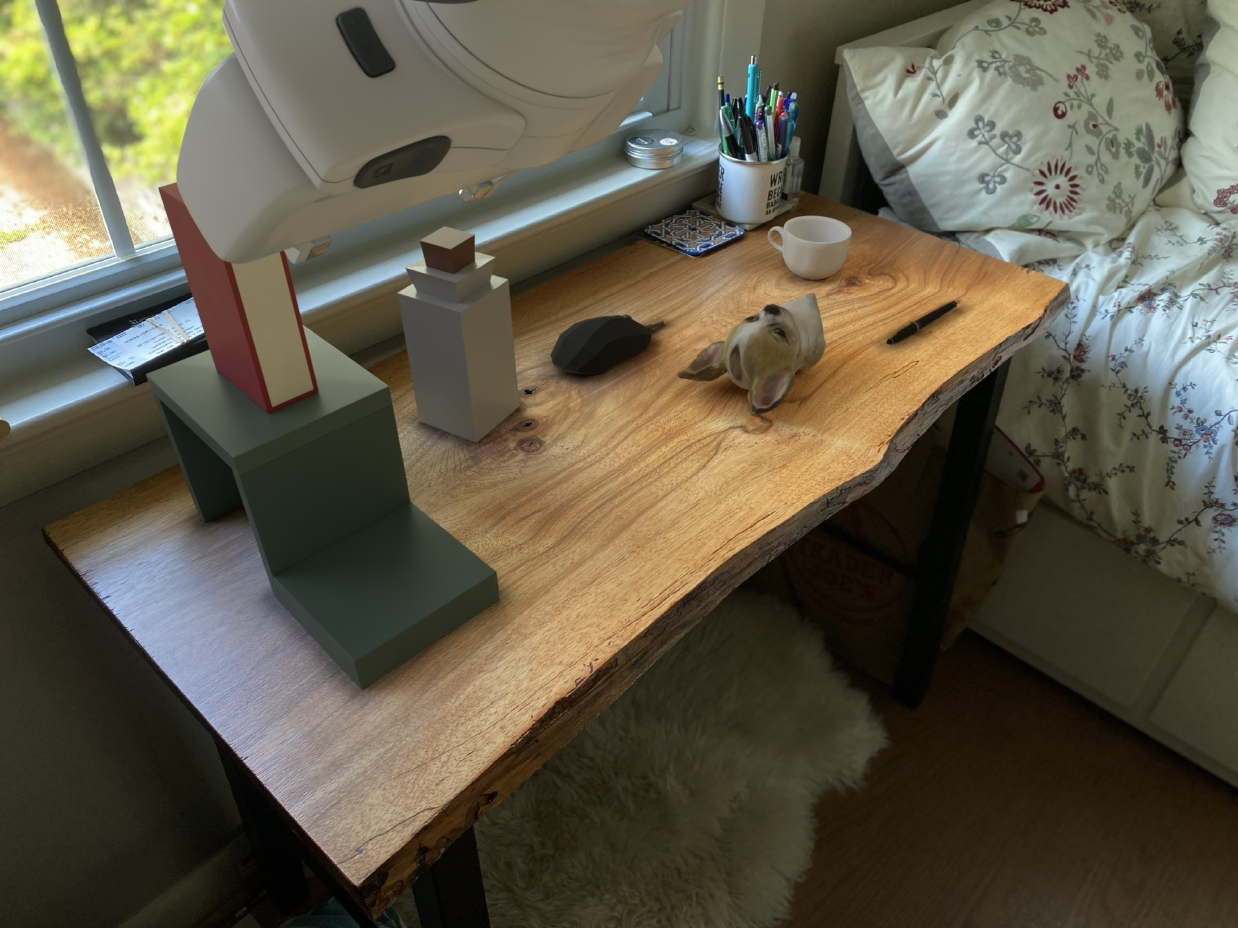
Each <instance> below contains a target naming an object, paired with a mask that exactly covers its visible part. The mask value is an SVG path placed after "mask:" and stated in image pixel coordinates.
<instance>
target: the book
mask: <svg viewBox="0 0 1238 928" xmlns="http://www.w3.org/2000/svg"><path fill="white" fill-rule="evenodd" d="M157 189H158V192H159V196H160V198H161V202H162V205H163V208H164V211H165V214H166V217H167V221H168V224H169V227H170V230H171V233H172V236H173V240H174V242H175V245H176V246H175V247H176V248H177V252H178V255H179V258H180V261H181V264H182V268H183V271H184V273H185V277H186V279H187V283H188V286H189V290H190V293H191V295H192V298H193V303H194V305H195V308H196V310H197V314H198V317H199V320H200V324H201V326H202V330H203V333H204V336H205V339H206V342H207V345H208V346H207V347H208V348H209V349H208V350H210V352H211V355H212V358H213V361H214V364H215V367H216V369H217V370H218V371H219V372H220V373H221V374H222V375H224V376H225V377H226V378H227V379H228V380H229V381H231V382H232V383H233V384H234V385H235V386H237V387H238V388H239V389H240V390H241V391H242V392H244V393H245V394H246V395H247V396H248V397H249V398H251V399H252V400H253V401H254V402H255V403H257V404H258V405H259V406H260V407H261V408H262V409H264V410H265V411H266V412H267V413H271V412H273V411H275V410H277V409H280V408H282V407H284V406H286V405H289V404H291V403H293V402H296V401H298V400H300V399H302V398H305V397H307V396H309V395H311V394H314V393H316V392H318V391H319V389H318V385H317V381H316V377H315V373H314V369H313V365H312V360H311V356H310V352H309V348H308V344H307V340H306V336H305V332H304V328H303V325H304V324H303V320H302V316H301V312H300V308H299V303H298V299H297V295H296V291H295V287H294V283H293V279H292V278H293V277H292V274H291V270H290V267H289V262H288V257H287V255H286V253H285V252H284V251H281V252H278V253H275V254H272V255H269V256H266V257H264V258H261V259H258V260H256V261H253V262H250V263H246V264H234V263H230V262H227V261H224V260H222V259H220V258H219V257H218V256H217V255H216V254H215V253H214V251H213V250H212V249H211V247H210V246H209V244H208V243H207V241H206V240H205V238H204V237H203V235H202V233H201V232H200V230H199V228H198V227H197V225H196V223H195V222H194V220H193V218H192V216H191V215H190V213H189V211H188V209H187V207H186V205H185V203H184V201H183V199H182V197H181V194H180V192H179V189H178V186H177V181H176V182H173V183H169V184H165V185H161V186H158V188H157Z"/></svg>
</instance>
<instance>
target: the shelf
mask: <svg viewBox="0 0 1238 928" xmlns="http://www.w3.org/2000/svg"><path fill="white" fill-rule="evenodd" d="M303 328H304V332H305V336H306V340H307V344H308V348H309V352H310V356H311V360H312V365H313V369H314V373H315V377H316V381H317V385H318V389H319V391H318V392H316V393H314V394H311V395H309V396H307V397H305V398H302V399H300V400H298V401H296V402H293V403H291V404H289V405H286V406H284V407H282V408H280V409H277V410H275V411H273V412H271V413H267V412H266V411H265V410H264V409H262V408H261V407H260V406H259V405H258V404H257V403H255V402H254V401H253V400H252V399H251V398H249V397H248V396H247V395H246V394H245V393H244V392H242V391H241V390H240V389H239V388H238V387H237V386H235V385H234V384H233V383H232V382H231V381H229V380H228V379H227V378H226V377H225V376H224V375H222V374H221V373H220V372H219V371H218V370H217V369H216V367H215V364H214V361H213V358H212V355H211V352H210V349H207V350H205V351H203V352H200V353H197V354H194V355H192V356H190V357H186V358H184V359H182V360H179V361H176V362H174V363H172V364H171V363H170V364H169V365H166V366H164V367H161V368H159V369H156V370H153V371H151V372H148V373H146V374H145V377H146V379H147V382H148V385H149V387H150V390H151V392H152V395H153V398H154V400H155V404H156V406H157V408H158V412H159V415H160V417H161V419H162V421H163V425H164V427H165V430H166V432H167V434H168V438H169V441H170V444H171V446H172V448H173V451H174V453H175V456H176V459H177V462H178V464H179V467H180V469H181V472H182V475H183V477H184V481H185V483H186V485H187V486H186V487H187V489H188V490H189V493H190V496H191V499H192V501H193V504H194V507H195V510H196V512H197V515H198V517H199V518H200V519H201V520H202V521H203V522H204V523H207V522H209V521H211V520H213V519H215V518H218V517H220V516H222V515H224V514H226V513H227V512H230V511H232V510H234V509H236V508H238V507H240V506H242V505H243V507H244V510H245V513H246V516H247V519H248V522H249V526H250V529H251V531H252V535H253V537H254V541H255V543H256V546H257V549H258V552H259V555H260V559H261V561H262V564H263V567H264V570H265V573H266V576H267V579H268V582H269V585H270V588H271V591H272V594H273V596H274V598H275V599H276V600H277V601H278V602H279V603H280V604H281V605H282V606H283V608H284V609H285V610H286V611H287V612H288V613H289V614H290V616H292V618H293V619H295V620H296V622H297V623H299V625H300V626H301V627H302V628H303V629H304V630H305V631H306V632H307V633H308V634H309V635H310V636H311V638H312V639H313V640H314V641H315V642H316V643H317V644H318V645H319V646H320V647H321V648H322V649H323V650H324V652H325V653H326V654H327V655H328V656H329V657H330V658H331V659H332V660H333V661H334V662H335V663H336V664H337V665H338V667H340V668H341V669H342V671H343V672H344V673H345V674H346V675H347V676H348V677H349V678H350V680H352V681H353V682H354V683H355V685H356V686H357V687H358V688H359V689H360V690H361V691H363V690H365V689H367V688H368V687H369V686H371V685H372V684H374V683H376V682H377V681H378V680H380V679H381V678H383V677H385V676H386V675H388V674H389V673H391V672H393V670H395V669H397V668H398V667H400V666H401V665H403V664H404V663H406V662H408V661H409V660H410V659H412V658H414V657H415V656H417V655H418V654H420V653H421V652H423V651H424V650H426V649H428V648H429V647H430V646H432V645H433V644H435V643H436V642H438V641H440V640H441V639H442V638H444V637H446V636H448V635H449V634H450V633H452V632H453V631H455V630H456V629H458V628H459V627H461V626H463V625H464V624H466V623H467V622H469V621H470V620H471V619H473V618H475V617H476V616H478V615H479V614H481V613H482V612H484V611H485V610H487V609H489V608H490V607H491V606H493V605H495V604H496V603H498V602H499V601H501V597H500V587H499V580H498V572H497V571H496V570H495V569H494V568H493V567H491V566H490V565H489V564H488V563H487V562H486V561H484V560H483V559H481V557H479V556H478V555H477V554H476V553H475V552H473V551H472V550H470V549H469V548H468V547H467V546H466V545H465V544H463V543H462V542H461V541H460V540H459V539H458V538H456V537H455V536H454V535H452V534H451V533H450V532H449V531H447V530H446V529H445V528H444V527H443V526H442V525H440V524H439V523H438V522H437V521H435V520H434V519H433V518H432V517H430V516H429V515H428V514H427V513H425V512H424V511H423V510H422V509H421V508H419V507H418V506H417V505H416V504H415V503H413V502H412V501H411V495H410V491H409V485H408V479H407V474H406V470H405V469H406V468H405V463H404V458H403V452H402V448H401V441H400V436H399V431H398V426H397V420H396V415H395V410H394V405H393V399H392V393H391V389H390V385H388V384H387V383H385V382H383V381H382V380H381V379H379V377H377V376H376V375H374V374H373V373H371V372H370V371H368V370H367V369H365V368H364V367H362V366H361V365H360V364H358V363H357V362H356V361H355V360H353V359H351V358H350V357H349V356H347V355H346V354H344V353H343V352H342V351H341V350H339V349H338V348H336V347H335V346H333V345H332V344H331V343H329V342H328V341H326V340H325V339H323V338H322V337H321V336H319V335H318V334H317V333H315V332H313V331H312V329H310V328H308V327H306V326H305V325H304V324H303Z"/></svg>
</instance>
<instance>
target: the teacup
mask: <svg viewBox="0 0 1238 928" xmlns="http://www.w3.org/2000/svg"><path fill="white" fill-rule="evenodd" d="M775 231H776V232H778V233H779V235H780V237H781V239H782V245H781V244H778V243H776V242H775V241H774V238H773V232H775ZM852 233H853V231H852V229H851V227H850V226H849V225H847V224H846V223H845V222H843V221H840V220H839V219H836V218H831V217H827V216H820V215H804V216H797V217H793V218H790V219H788V220H787V221H786V222H785V223H784V225H783V227H782V226H780V225H779V226H778V225H777V226H773V227H771V228H770V229H769V230H768V232H767V239H768V240H767V241H768V242H769V244H770V245H771V246H772V247H773V248H774V249H776V250H777V251H778V252H780V253H781V254H782V257H783V260H784V261H783V262H784V263H785V265H786V267H787V269H788V270H789V271H790V272H792V273H793V274H794V275H795V276H797V277H799V278H801V279H806V280H810V281H812V280H813V281H819V280H823V279H826V278H829V277H831V276H833V275H834V274H836V273H837V272H838V271H839V270H840V269H841V268H842V266H843V265H844V263H845V261H846V258H847V255H848V251H849V247H850V243H851V239H852Z"/></svg>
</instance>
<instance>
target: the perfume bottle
mask: <svg viewBox="0 0 1238 928" xmlns="http://www.w3.org/2000/svg"><path fill="white" fill-rule="evenodd" d="M419 242H420V248H421V251H422V257H420V258H418V259H416V260H415V261H414V262H412V263H410V264H409V265H407V266H405V267H404V269H405V270H406V273H407V275H408V276H409V279H410V281H411V282H412V283H411V284H410V285H408V286H406V287H404V288H403V289H401V290H400V291H397V297H398V298H397V299H398V303H399V305H398V306H399V310H400V315H401V322H402V327H403V328H402V329H403V334H404V339H405V345H406V352H407V358H408V364H409V369H410V376H411V382H412V387H413V393H414V399H415V405H416V410H417V411H416V412H417V417H418V422H420V423H422V424H425V425H428V426H430V427H433V428H436V429H437V430H441V431H443V432H445V433H448V434H452V435H454V436H456V437H460V438H462V439H465V440H467V441H470V442H473V443H475V444H477V443H479V441H480V440H482V439H483V438H484V437H485V436H487V435H488V434H489V433H490V432H491V431H492V430H493V429H495V428H496V427H497V426H498V425H499V424H500V423H502V422H503V421H504V420H505V419H506V418H508V417H509V416H510V415H511V414H512V413H513V412H515V411H516V410H517V409H518V408H520V401H519V400H520V399H519V398H520V397H519V387H518V377H517V365H516V354H515V353H516V352H515V341H514V340H515V339H514V330H513V318H512V317H513V316H512V305H511V294H510V293H511V292H510V282H509V281H510V280H509V279H508V278H504V277H501V276H497V275H494V274H493V270H494V267H495V266H494V265H495V261H496V256H493V255H490V254H485V253H481V252H478V251H476V234H475V233H471V232H468V231H464V230H460V229H456V228H454V227H453V228H452V227H449V226H445V225H444V226H443V227H441V228H439V229H437V230H436V231H434V232H432V233H430V234H429V235H426V236H425V237H423V238H422V239H419Z"/></svg>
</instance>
